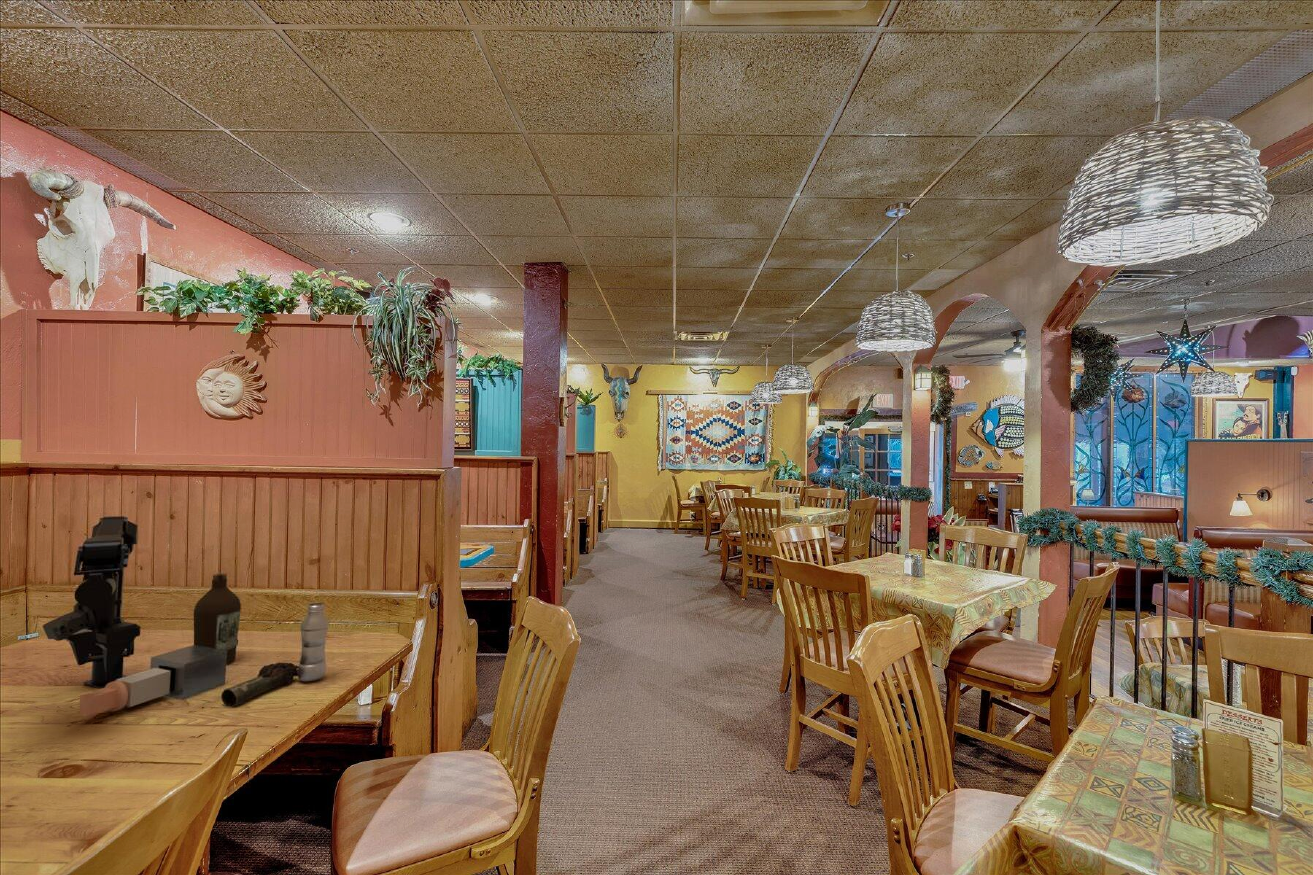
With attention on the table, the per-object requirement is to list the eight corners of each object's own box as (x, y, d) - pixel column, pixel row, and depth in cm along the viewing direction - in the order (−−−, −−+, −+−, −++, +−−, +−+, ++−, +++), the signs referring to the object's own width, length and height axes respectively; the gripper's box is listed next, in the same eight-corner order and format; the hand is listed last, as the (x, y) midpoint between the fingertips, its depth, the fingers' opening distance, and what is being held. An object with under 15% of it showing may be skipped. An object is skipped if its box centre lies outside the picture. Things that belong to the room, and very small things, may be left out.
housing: (148, 691, 140) (151, 657, 140) (192, 677, 149) (194, 644, 150) (182, 699, 136) (184, 663, 136) (225, 683, 146) (227, 650, 146)
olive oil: (180, 667, 155) (185, 576, 156) (216, 654, 166) (221, 569, 166) (212, 671, 153) (218, 579, 154) (247, 658, 164) (252, 572, 165)
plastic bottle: (304, 675, 153) (308, 601, 154) (330, 674, 154) (334, 601, 154) (291, 684, 147) (295, 607, 147) (318, 684, 147) (322, 607, 148)
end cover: (73, 717, 124) (75, 688, 124) (152, 691, 138) (154, 665, 138) (92, 722, 122) (94, 693, 122) (170, 695, 136) (172, 668, 136)
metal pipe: (235, 709, 133) (236, 685, 133) (214, 705, 134) (215, 681, 135) (301, 680, 150) (302, 659, 150) (282, 677, 151) (283, 656, 152)
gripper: (24, 600, 120) (18, 674, 120) (80, 610, 115) (75, 687, 114) (89, 589, 131) (85, 657, 130) (144, 597, 125) (139, 668, 125)
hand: (94, 667), depth 124 cm, fingers open, 9 cm apart
